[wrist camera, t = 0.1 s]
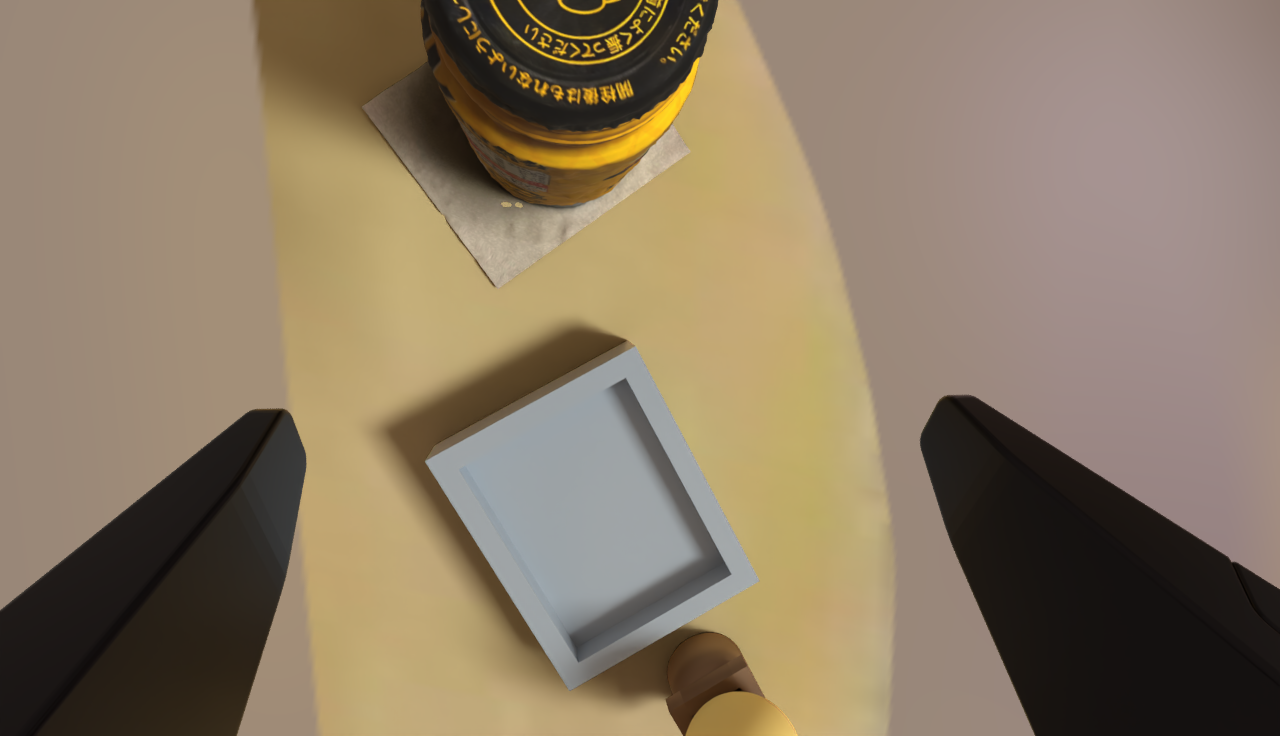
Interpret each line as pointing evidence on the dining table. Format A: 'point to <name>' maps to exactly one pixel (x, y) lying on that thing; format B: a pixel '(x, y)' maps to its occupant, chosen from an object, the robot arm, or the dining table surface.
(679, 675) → the egg cup
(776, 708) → the ball
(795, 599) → the dining table surface
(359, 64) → the dining table surface
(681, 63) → the condiment
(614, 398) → the tray
